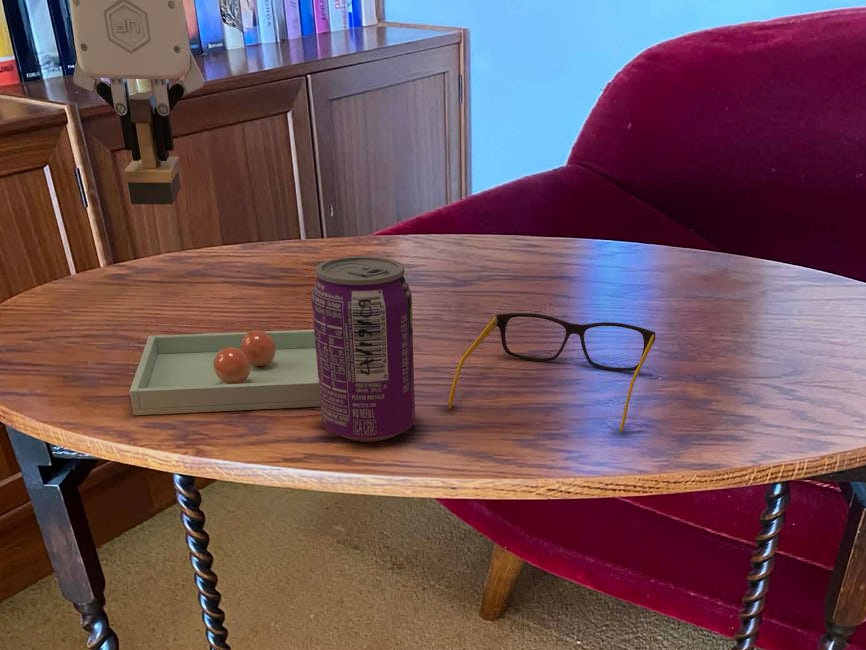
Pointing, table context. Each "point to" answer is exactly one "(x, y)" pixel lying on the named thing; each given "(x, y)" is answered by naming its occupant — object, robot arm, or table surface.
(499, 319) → the eyeglasses
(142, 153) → the brush
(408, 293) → the beverage can
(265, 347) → the bead
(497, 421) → the table surface
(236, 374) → the bead
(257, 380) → the tray
